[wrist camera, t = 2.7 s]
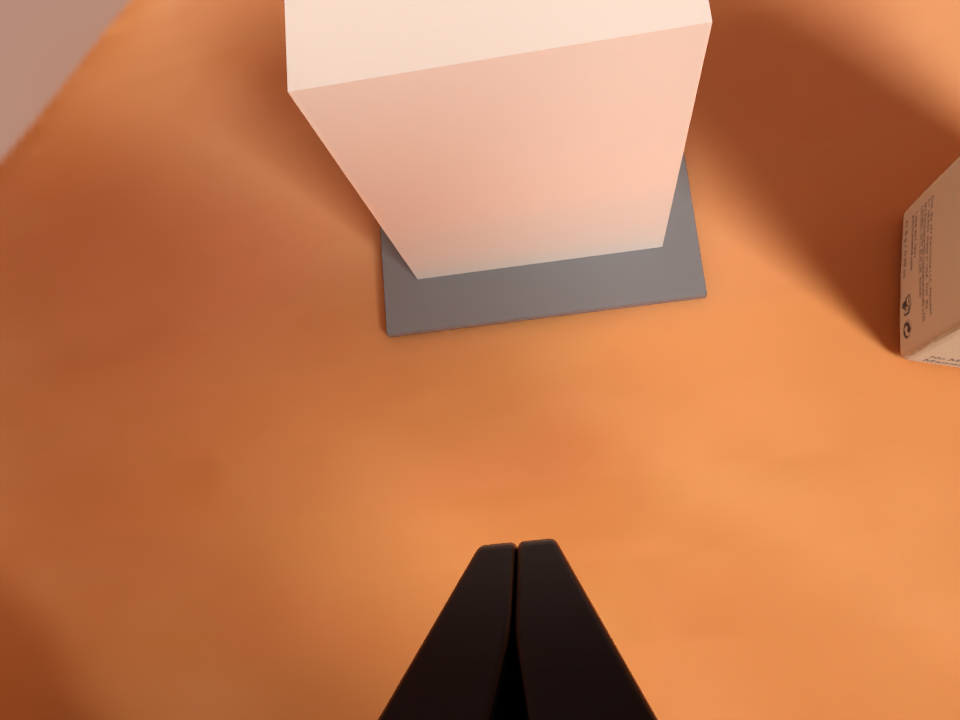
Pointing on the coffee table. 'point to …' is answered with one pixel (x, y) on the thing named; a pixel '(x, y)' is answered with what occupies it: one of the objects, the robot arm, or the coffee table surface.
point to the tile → (503, 120)
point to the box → (932, 274)
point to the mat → (549, 282)
